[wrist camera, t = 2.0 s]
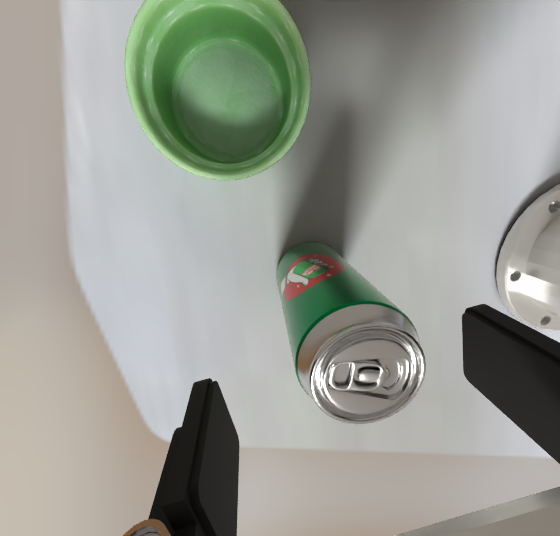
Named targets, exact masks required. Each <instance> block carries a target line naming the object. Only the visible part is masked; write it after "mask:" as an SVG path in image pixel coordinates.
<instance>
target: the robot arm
mask: <svg viewBox="0 0 560 536" xmlns="http://www.w3.org/2000/svg"><path fill="white" fill-rule="evenodd" d="M496 280H497V287H498V292H499V295H500V297H501V300H502V302H503V304H504V305H505V306H506V308H507V309H508V311H509V312H511V313H512V314H513V315H514V316H515V317H517V318H518V319H520V320H522V321H524V322H526V323H528V324H529V325H531V326H534V327H537V328H539V329H545V330H560V184H558V185H556V186H555V187H553V188H552V189H550V190H548V191H547V192H545V193H544V194H542V195H541V196H540V197H539V198H538V199H536V200H535V201H534V202H533V203H532V204H531V205H530V206H528V207H527V209H526V210H525V211H524V212H523V213H522V215H521V216H520V217H519V218H518V219H517V220H516V222H515V223H514V225H513V227H512V228H511V230H510V231H509V233H508V235H507V237H506V239H505V241H504V244H503V246H502V248H501V251H500V255H499V259H498V263H497V274H496ZM462 332H463V370H464V375H465V377H466V379H467V380H468V381H469V382H470V383H471V384H472V385H473V386H474V387H475V388H476V389H478V390H479V391H480V392H481V393H482V394H483V395H484V396H485V397H486V398H487V399H489V400H490V401H491V402H492V403H493V404H494V405H495V406H496V407H497V408H499V409H500V410H501V411H502V412H503V413H504V414H505V415H506V416H507V417H508V418H510V419H511V420H512V421H513V422H514V423H515V424H516V425H517V426H518V427H519V428H521V429H522V430H523V431H524V432H525V433H526V434H527V435H528V436H529V437H530V438H532V439H533V440H534V441H535V442H536V443H537V444H538V445H539V446H540V447H541V448H543V449H544V450H545V451H546V452H547V453H548V454H549V455H550V456H551V457H553V458H554V459H555V460H556V461H557V462H558V463H559V464H560V343H559V342H557V341H555V340H553V339H551V338H549V337H547V336H545V335H544V334H542V333H540V332H538V331H536V330H534V329H532V328H530V327H528V326H526V325H524V324H522V323H520V322H519V321H517V320H515V319H513V318H511V317H509V316H507V315H505V314H503V313H501V312H499V311H497V310H495V309H493V308H492V307H490V306H488V305H485V304H481V305H477V306H473V307H470V308H467V309H466V310H465V313H464V314H463V315H462ZM238 471H239V439H238V435H237V432H236V429H235V427H234V424H233V422H232V419H231V416H230V414H229V411H228V408H227V406H226V403H225V400H224V398H223V395H222V392H221V390H220V387H219V385H218V382H217V381H214V382H212V380H211V379H210V378H209V379H205V380H201V381H198V382H195V383H194V384H193V387H192V391H191V394H190V398H189V402H188V406H187V410H186V413H185V417H184V421H183V425H182V427H179V428H177V429H176V430H175V431H174V434H173V437H172V440H171V443H170V447H169V451H168V454H167V457H166V461H165V464H164V468H163V471H162V474H161V478H160V481H159V484H158V488H157V491H156V495H155V498H154V502H153V505H152V509H151V512H150V515H149V519H148V520H144V521H142V522H140V523H138V524H136V525H134V526H133V527H132V528H131V529H130V530H128V531H127V532H126V533H125V534H124V535H123V536H237V535H236V534H237V504H238V502H237V501H238ZM396 536H560V487H557V488H554V489H550V490H547V491H543V492H540V493H536V494H533V495H530V496H526V497H523V498H519V499H516V500H513V501H509V502H506V503H502V504H499V505H496V506H492V507H489V508H486V509H482V510H479V511H476V512H472V513H469V514H466V515H462V516H459V517H455V518H452V519H449V520H446V521H442V522H439V523H435V524H432V525H429V526H426V527H422V528H419V529H416V530H412V531H409V532H406V533H402V534H399V535H396Z"/></svg>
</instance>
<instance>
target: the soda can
mask: <svg viewBox="0 0 560 536" xmlns="http://www.w3.org/2000/svg"><path fill="white" fill-rule="evenodd" d="M277 283H278V288H279V293H280V298H281V303H282V308H283V312H284V317H285V322H286V327H287V332H288V337H289V341H290V346H291V351H292V356H293V361H294V366H295V371H296V374H297V378H298V381H299V383H300V384H301V386H302V388H303V389H304V390H305V392H306V393H307V394H308V395H309V396H310V397H311V398H312V399H314V401H315V403H316V404H317V405H318V407H319V408H320V409H321V410H322V411H323V412H324V413H326V414H327V415H328V416H330V417H332V418H334V419H336V420H339V421H341V422H346V423H352V424H366V423H372V422H376V421H380V420H383V419H385V418H388V417H390V416H392V415H393V414H395V413H397V412H399V411H400V410H401V409H403V408H404V407H405V406H406V405H407V404H408V403H409V402H410V401H411V400H412V399H413V398H414V397H415V395H416V394H417V392H418V391H419V389H420V387H421V385H422V382H423V380H424V376H425V369H426V363H425V356H424V353H423V350H422V348H421V346H420V344H419V337H418V334H417V331H416V329H415V327H414V325H413V323H412V322H411V321H410V320H409V318H408V317H407V316H406V315H405V314H404V313H403V312H402V311H401V310H399V309H398V308H397V307H396V306H395V305H394V304H393V303H392V302H391V301H389V300H388V299H387V298H386V297H385V296H384V295H383V294H382V293H381V292H380V291H378V290H377V289H376V288H375V287H374V286H373V285H372V284H371V283H370V282H368V281H367V280H366V279H365V278H364V277H363V276H362V275H361V274H360V273H358V272H357V271H356V270H355V269H354V268H353V267H352V266H351V265H350V264H348V263H347V262H346V261H345V260H344V259H343V258H342V257H341V256H340V255H339V254H337V253H336V252H335V251H334V250H333V249H332V248H330V247H328V246H327V245H324V244H321V243H317V242H308V243H303V244H299V245H297V246H295V247H293V248H292V249H290V250H289V251H288V252H287V253H286V254H285V255H284V257H283V258H282V259H281V261H280V263H279V266H278V269H277Z"/></svg>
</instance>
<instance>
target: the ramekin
mask: <svg viewBox="0 0 560 536" xmlns="http://www.w3.org/2000/svg"><path fill="white" fill-rule="evenodd" d="M125 78H126V84H127V90H128V94H129V98H130V101H131V104H132V107H133V110H134V112H135V115H136V117H137V119H138V121H139V123H140V125H141V126H142V128H143V130H144V131H145V133H146V134H147V136H148V137H149V139H150V140H151V141H152V142H153V144H154V145H155V146H156V147H157V148H158V149H159V150H160V151H161V152H162V153H163V154H164V155H165V156H166V157H167V158H169V159H170V160H171V161H172V162H174V163H175V164H177V165H178V166H180V167H181V168H183V169H185V170H187V171H189V172H191V173H193V174H196V175H199V176H202V177H205V178H210V179H215V180H238V179H243V178H247V177H250V176H253V175H256V174H258V173H260V172H262V171H264V170H266V169H267V168H269V167H271V166H272V165H273V164H275V163H276V162H277V161H279V160H280V159H281V158H282V157H283V156H284V155H285V154H286V153H287V152H288V150H289V149H290V148H291V147H292V145H293V144H294V142H295V141H296V139H297V137H298V136H299V134H300V132H301V130H302V127H303V125H304V122H305V120H306V116H307V112H308V108H309V103H310V94H311V78H310V68H309V61H308V57H307V53H306V49H305V46H304V43H303V40H302V37H301V35H300V33H299V30H298V28H297V26H296V24H295V22H294V20H293V19H292V17H291V16H290V14H289V12H288V11H287V9H286V8H285V7H284V6H283V4H282V3H281V2H280V1H279V0H145V2H144V3H143V4H142V6H141V8H140V9H139V11H138V13H137V14H136V16H135V19H134V21H133V24H132V26H131V29H130V32H129V36H128V39H127V44H126V52H125Z"/></svg>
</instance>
